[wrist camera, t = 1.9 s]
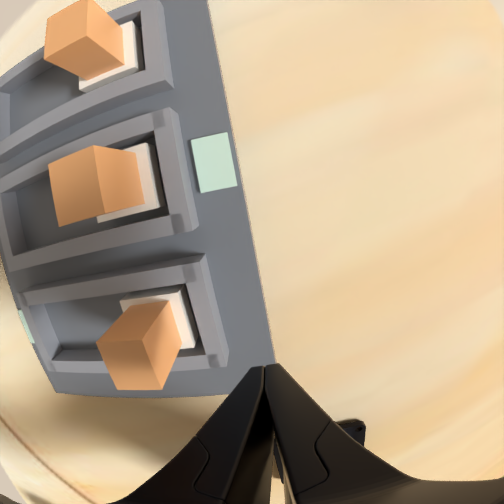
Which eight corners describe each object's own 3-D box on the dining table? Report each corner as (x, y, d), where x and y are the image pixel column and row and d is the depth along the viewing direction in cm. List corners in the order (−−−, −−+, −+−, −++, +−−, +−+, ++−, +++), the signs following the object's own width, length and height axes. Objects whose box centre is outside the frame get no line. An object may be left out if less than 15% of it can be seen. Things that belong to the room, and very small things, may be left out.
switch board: (279, 377, 16) (281, 404, 14) (62, 385, 17) (47, 403, 15) (206, -6, 11) (199, -30, 9) (-6, 94, 12) (-28, 90, 10)
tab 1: (144, 74, 11) (98, 36, 7) (91, 95, 12) (34, 71, 7) (140, 30, 11) (100, -15, 6) (89, 51, 11) (39, 19, 6)
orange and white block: (198, 335, 14) (176, 395, 10) (145, 340, 14) (110, 395, 10) (184, 283, 14) (152, 330, 9) (129, 291, 14) (83, 335, 9)
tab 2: (165, 205, 13) (120, 219, 8) (110, 219, 13) (51, 238, 8) (154, 145, 12) (105, 131, 8) (99, 163, 12) (37, 160, 8)
